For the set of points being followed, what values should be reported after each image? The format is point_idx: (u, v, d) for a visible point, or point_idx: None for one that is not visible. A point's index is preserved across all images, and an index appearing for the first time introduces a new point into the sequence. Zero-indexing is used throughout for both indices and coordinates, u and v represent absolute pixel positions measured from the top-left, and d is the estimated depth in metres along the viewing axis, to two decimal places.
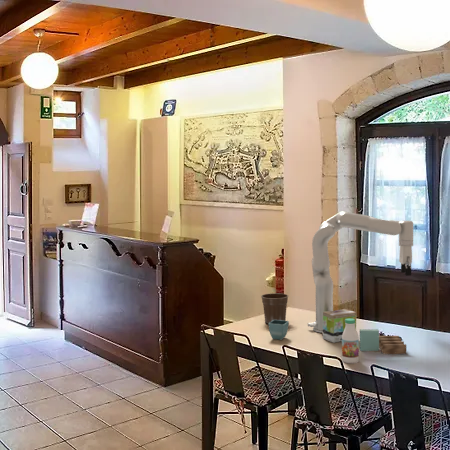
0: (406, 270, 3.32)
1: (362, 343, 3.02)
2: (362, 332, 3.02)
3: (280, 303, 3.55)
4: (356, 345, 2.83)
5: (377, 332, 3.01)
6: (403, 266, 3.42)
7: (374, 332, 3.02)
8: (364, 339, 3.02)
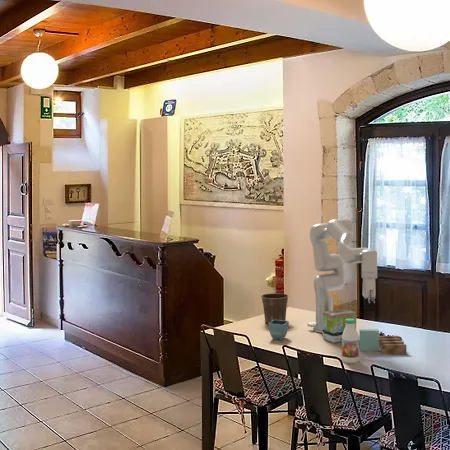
0: (369, 305, 2.97)
1: (362, 343, 3.02)
2: (362, 332, 3.02)
3: (280, 303, 3.55)
4: (356, 345, 2.83)
5: (377, 332, 3.02)
6: (367, 300, 3.07)
7: (374, 332, 3.02)
8: (364, 339, 3.02)
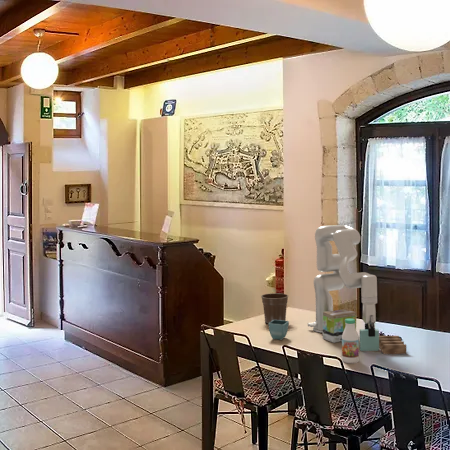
0: (369, 331, 2.97)
1: (362, 343, 3.02)
2: (362, 332, 3.02)
3: (280, 303, 3.55)
4: (356, 345, 2.83)
5: (377, 332, 3.02)
6: (367, 325, 3.07)
7: None
8: (364, 339, 3.02)
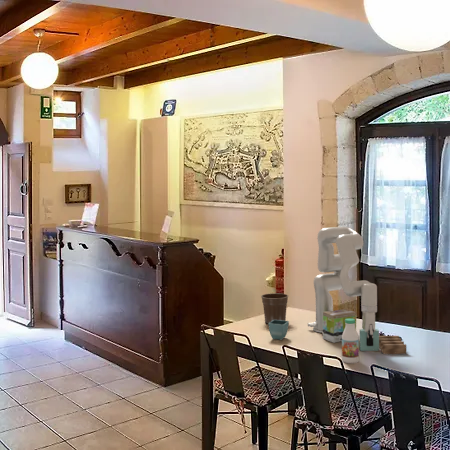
0: (367, 340, 3.01)
1: (362, 343, 3.02)
2: (362, 332, 3.02)
3: (280, 303, 3.55)
4: (356, 345, 2.83)
5: (377, 332, 3.02)
6: None
7: (374, 332, 3.02)
8: (364, 339, 3.02)
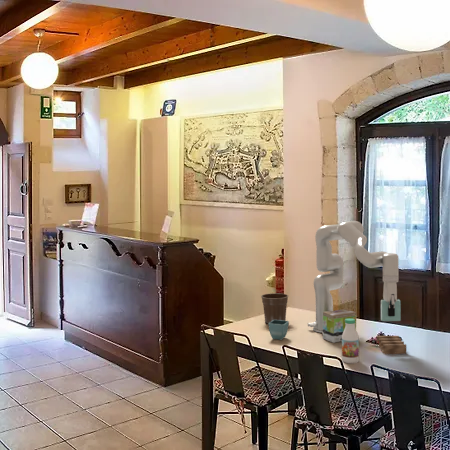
0: (389, 310, 3.00)
1: (383, 313, 3.01)
2: (383, 302, 3.01)
3: (280, 303, 3.55)
4: (356, 345, 2.83)
5: (399, 302, 3.01)
6: None
7: (395, 302, 3.01)
8: (385, 310, 3.01)
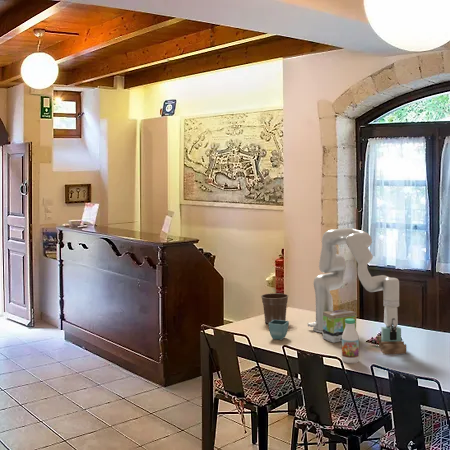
0: (391, 334, 2.99)
1: (384, 340, 3.03)
2: (384, 329, 3.02)
3: (280, 303, 3.55)
4: (356, 345, 2.83)
5: (399, 329, 3.02)
6: None
7: (396, 329, 3.02)
8: (386, 337, 3.03)
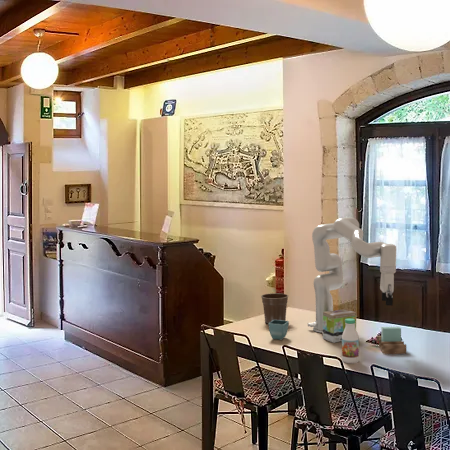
0: (387, 299, 2.99)
1: (384, 340, 3.03)
2: (384, 329, 3.02)
3: (280, 303, 3.55)
4: (356, 345, 2.83)
5: (399, 329, 3.02)
6: (384, 294, 3.09)
7: (396, 329, 3.02)
8: (386, 337, 3.03)
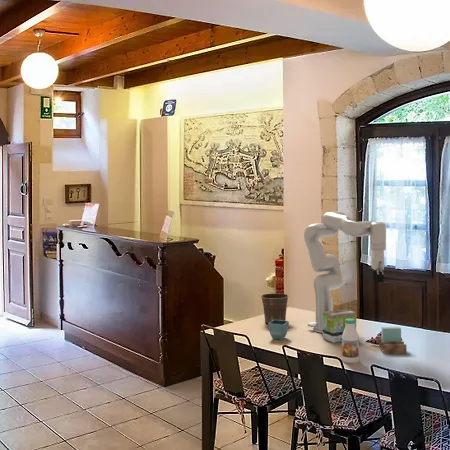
0: (378, 276, 3.03)
1: (384, 340, 3.03)
2: (384, 329, 3.02)
3: (280, 303, 3.55)
4: (356, 345, 2.83)
5: (399, 329, 3.02)
6: (375, 272, 3.13)
7: (396, 329, 3.02)
8: (386, 337, 3.03)
